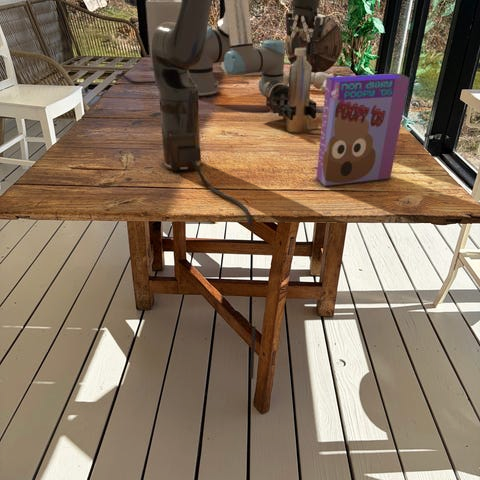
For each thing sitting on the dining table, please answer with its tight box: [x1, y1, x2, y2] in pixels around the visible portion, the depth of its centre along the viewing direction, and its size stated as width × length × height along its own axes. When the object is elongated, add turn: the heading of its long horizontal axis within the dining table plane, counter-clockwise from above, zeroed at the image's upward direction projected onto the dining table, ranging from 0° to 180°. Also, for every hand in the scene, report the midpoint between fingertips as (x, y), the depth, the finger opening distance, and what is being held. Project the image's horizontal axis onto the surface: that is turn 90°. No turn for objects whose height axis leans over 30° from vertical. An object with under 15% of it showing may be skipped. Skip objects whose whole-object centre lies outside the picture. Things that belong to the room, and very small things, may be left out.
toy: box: [283, 71, 342, 93], centre depth 188 cm, size 24×25×7 cm
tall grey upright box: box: [145, 0, 182, 70], centre depth 219 cm, size 19×15×28 cm
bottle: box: [285, 55, 312, 134], centre depth 142 cm, size 6×6×23 cm
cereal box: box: [315, 73, 410, 187], centre depth 109 cm, size 17×5×24 cm, turn 106°
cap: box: [295, 48, 306, 56], centre depth 136 cm, size 4×4×2 cm
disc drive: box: [220, 62, 262, 77], centre depth 217 cm, size 18×22×5 cm
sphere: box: [284, 12, 344, 73], centre depth 209 cm, size 25×25×25 cm
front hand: (302, 54), depth 136 cm, fingers open, 5 cm apart
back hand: (303, 115), depth 140 cm, fingers closed on bottle, 6 cm apart
